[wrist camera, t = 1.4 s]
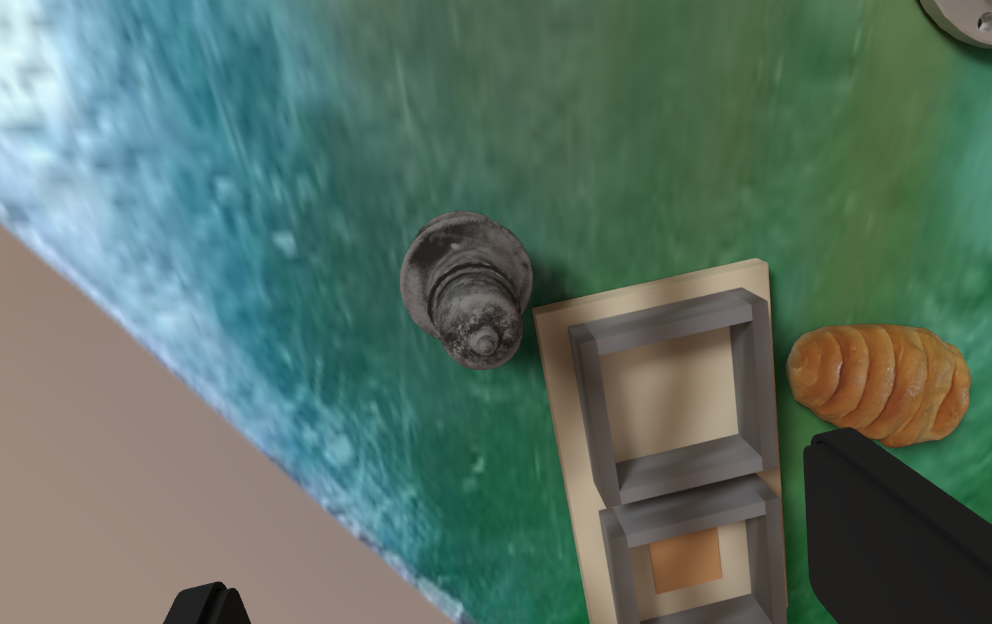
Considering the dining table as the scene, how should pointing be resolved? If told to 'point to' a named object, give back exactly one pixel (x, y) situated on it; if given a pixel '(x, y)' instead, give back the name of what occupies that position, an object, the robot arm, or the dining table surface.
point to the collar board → (671, 447)
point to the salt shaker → (468, 287)
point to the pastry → (881, 381)
